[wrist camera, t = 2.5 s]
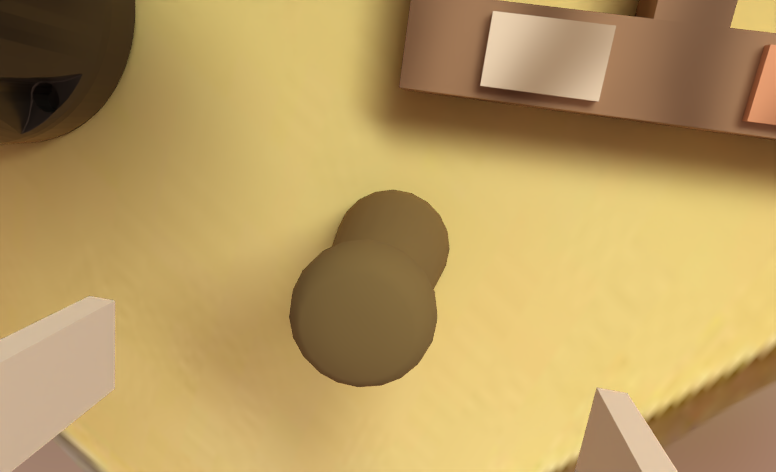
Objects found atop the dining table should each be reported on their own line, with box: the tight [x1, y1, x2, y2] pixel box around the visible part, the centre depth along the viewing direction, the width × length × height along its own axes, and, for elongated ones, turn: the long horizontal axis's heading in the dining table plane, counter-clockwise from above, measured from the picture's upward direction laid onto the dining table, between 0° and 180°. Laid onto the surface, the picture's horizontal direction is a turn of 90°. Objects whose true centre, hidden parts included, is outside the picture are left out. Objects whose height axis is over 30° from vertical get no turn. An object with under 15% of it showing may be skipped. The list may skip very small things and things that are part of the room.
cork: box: [289, 190, 449, 387], centre depth 22 cm, size 6×6×11 cm
